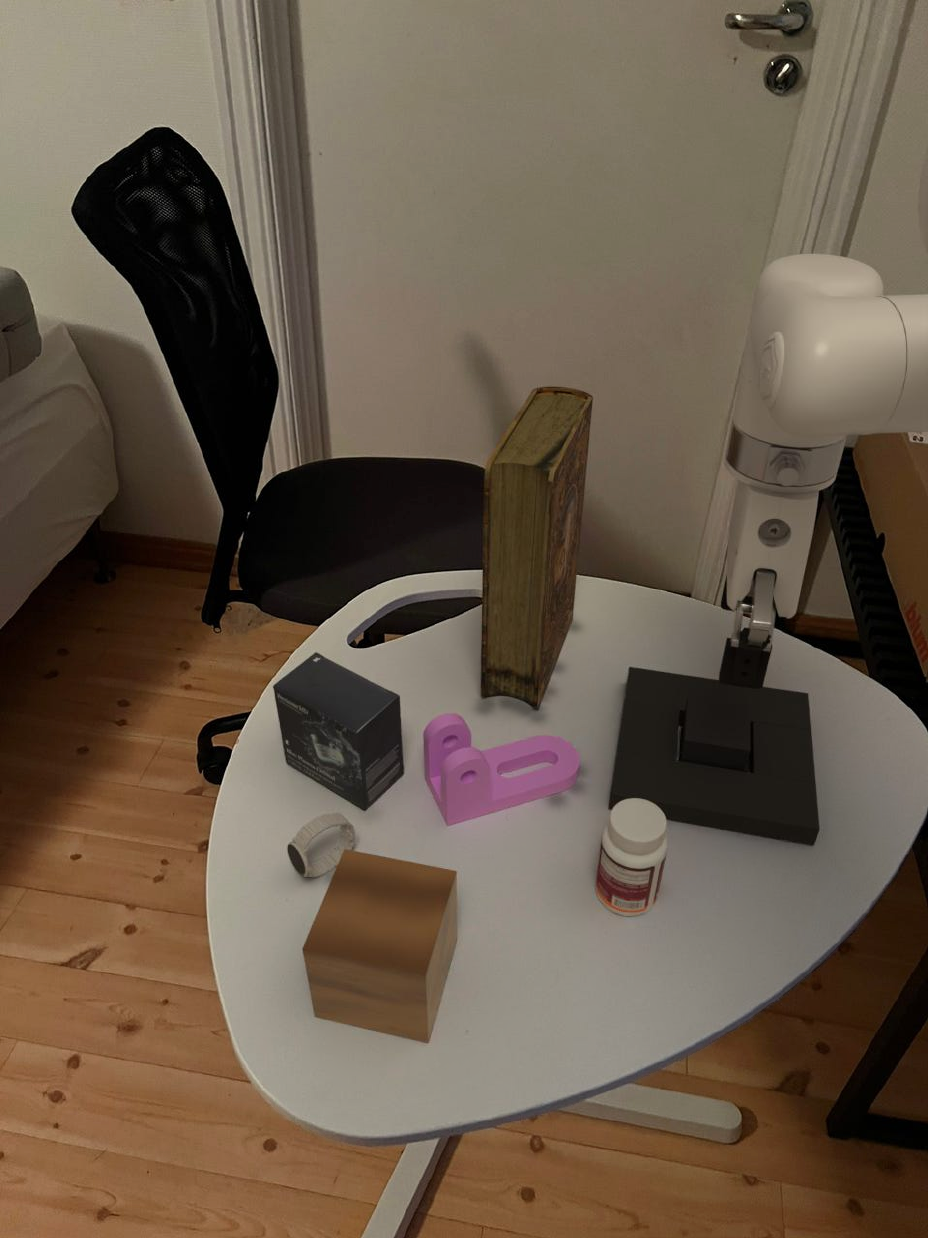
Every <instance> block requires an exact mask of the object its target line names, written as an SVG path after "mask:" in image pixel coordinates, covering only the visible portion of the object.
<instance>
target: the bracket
mask: <svg viewBox="0 0 928 1238" xmlns="http://www.w3.org/2000/svg"><path fill="white" fill-rule="evenodd" d="M422 735H423V737H422V740H423V765H424V779H425V782H426V784H427V786H428V789H429V790H430V793H431V794H432V797H433V799H434V801H435V803H436V805H437V807H438V809H439V812H440V814H441V816H442V818H443V820H444V822H445V824H446V826H447V827H449V826H452V825H456V824H459V823H463V822H466V821H469V820H472V819H476V818H479V817H481V816H486V815H489V814H492V813H495V812H498V811H502V810H505V809H509V808H512V807H515V806H519V805H522V804H525V803H529V802H532V801H535V800H538V799H539V800H540V799H542V798H545V797H548V796H552V795H555V794H558V793H562V792H564V791H566V790H568V789H570V788H571V787H572V786H573V785H574V784H575V783H576V782H577V780H578V778H579V775H580V773H579V772H580V765H581V758H580V753H579V751H578V749H577V748H576V747H575V746H574V745H573V744H572V743H571V742H569V741H568V740H566V739H564V738H562V737H560V736H556V735H550V734H541V735H535V736H531V737H527V738H524V739H520V740H517V741H513V742H509V743H506V744H502V745H498V746H496V747H491V748H487V749H485V750H480V749H479V748H476V747H472V732H471V730H470V728H469V726H468V725H467V722H466V721H465V719H464V717H462V715H461V714H458V713H453V712H448V713H442V714H440V715H438V716H435V718H433V719H431V720H430V721H429V723H428V724H426V726H425V728H424V730H423V733H422ZM543 762H545V763H546V762H548V763H551V764H552V765H549V766H546V767H545V766H544V767H541V768H539V769H535V770H533V771H532V770H531V771H528V772H525V773H524V772H523V773H521V774H517V775H514V776H511V777H505V776H502V775H503V774H506V773H509V772H512V771H516V770H519V769H523V768H526V767H529V766H534V765H537V764H540V763H543Z"/></svg>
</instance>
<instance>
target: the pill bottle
mask: <svg viewBox="0 0 928 1238" xmlns="http://www.w3.org/2000/svg"><path fill="white" fill-rule="evenodd" d="M608 819H609V820H608V822H607V824H606V825H605V826H604V828H603V830H602V833H601V838H600V848H599V855H598V863H597V870H596V879H595V891H596V895H597V897H598V899H599V901H600V902H601V904H602V905H603V906H604V907H605V908H607V909H608V910H609V911H610V912H612V913H614V914H617V915H619V916H623V917H624V916H625V917H637V916H641V915H644V914H646V913H647V912H649V911H651V910H652V908H653V907H654V906H655V905H656V903H657V901H658V896H659V892H660V888H661V883H662V877H663V874H664V873H663V872H664V868H665V863H666V859H667V854H668V849H669V848H668V847H669V846H668V845H669V843H668V838H667V836H666V834H667V833H666V832H667V827H668V820H666V817H665V815H664V813H663V812H662V810H661V809H660V808H659V807H658V806H657V805H655V804H654V803H652V802H650V801H647V800H644V799H640V798H630V799H625V800H622V801H620V802H619V803H617V804H616V805H615V806H614V807H613V809H612V810H610V813H609V818H608Z"/></svg>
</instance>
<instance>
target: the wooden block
mask: <svg viewBox="0 0 928 1238" xmlns="http://www.w3.org/2000/svg"><path fill="white" fill-rule="evenodd" d="M457 873H458V871H457V870H453V869H449V868H444V867H438V866H434V865H429V864H423V863H418V862H414V861H407V860H404V859H397V858H393V857H387V856H383V855H382V856H381V855H378V854H373V853H367V852H362V851H356V850H353V849H352V850H347V849H344V851H343V853H342V856H341V858H340V861H339V863H338V865H337V866H336V867H335V870H334V873H333V875H332V877H331V880H330V882H329V884H328V887H327V890H326V891H325V894H324V896H323V899H322V901H321V904H320V906H319V909H318V911H317V913H316V915H315V918H314V920H313V922H312V925H311V927H310V930H309V932H308V935H307V937H306V939H305V941H304V944H303V946H302V955H303V960H304V965H305V966H304V967H305V970H306V971H305V972H306V977H307V983H308V987H309V993H310V999H311V1004H312V1010H313V1015H314V1018H317V1019H321V1020H326V1021H331V1022H334V1023H338V1024H339V1023H340V1024H342V1025H343V1024H344V1025H347V1026H352V1027H357V1028H361V1029H366V1030H368V1031H369V1030H370V1031H374V1032H379V1033H383V1034H387V1035H391V1036H395V1037H399V1038H404V1039H407V1040H408V1039H409V1040H412V1041H416V1042H421V1043H425V1044H429V1043H430V1041H431V1037H432V1033H433V1031H434V1026H435V1022H436V1019H437V1016H438V1015H437V1014H438V1012H439V1007H440V1005H441V1001H442V998H443V997H442V996H443V993H444V990H445V985H446V982H447V979H448V975H449V972H450V968H451V964H452V960H453V957H454V953H455V949H456V945H457V943H458V876H457V875H458V874H457Z"/></svg>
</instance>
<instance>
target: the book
mask: <svg viewBox="0 0 928 1238" xmlns="http://www.w3.org/2000/svg"><path fill="white" fill-rule="evenodd" d="M593 400H594V397H593V395H591V394H590V393H589V392H587V391H583V390H582V389H581V390H580V389H576V388H572V387H565V386H541V387H540V386H539V387H536V388H533V389H532V390H531V392H530V393H529V395H528V397H527V398H526V400H525V401H524V403H523V404H522V406H521V407H520V409H519V411H518V412H517V413H516V415H515V417H514V419H513V420H512V422H511V423H510V424H509V427H508V428H507V430H505V432H504V434H503V436H502V438H500V440H499V442H498V443H497V445H496V447H495V448H494V450H493V452H492V453H491V454H490V456H489V458H488V460H487V461H486V464H485V469H484V478H483V479H484V481H483V483H484V484H483V522H482V523H483V525H482V526H483V527H482V529H483V531H482V579H481V580H482V581H481V582H482V584H481V585H482V586H481V587H482V588H481V589H482V593H481V640H480V643H481V645H480V647H481V649H480V697H482V698H488V697H491V696H510V697H514V698H517V699H520V700H522V701H523V702H526V703H527V704H529V705H531V706H533V709H537V710H539V709H540V706H541V704H542V702H543V699H544V696H545V694H546V692H547V689H548V686H549V683H550V682H551V678H552V676H553V673H554V670H555V669H556V665H557V663H558V659H559V657H560V654H561V652H562V649H563V648H564V647H563V646H564V644H565V641H566V638H567V636H568V633H569V631H570V628H571V625H572V622H573V620H574V609H575V597H576V588H577V576H578V565H579V554H580V543H581V534H582V533H581V531H582V523H583V509H584V501H585V499H584V498H585V490H586V489H585V488H586V476H587V465H588V455H589V446H590V445H589V444H590V435H591V433H590V432H591V425H592V424H591V423H592V422H591V421H592V411H593Z"/></svg>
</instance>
